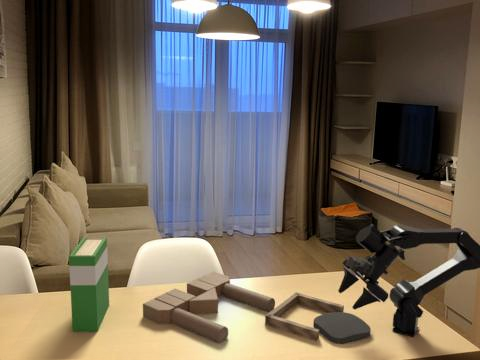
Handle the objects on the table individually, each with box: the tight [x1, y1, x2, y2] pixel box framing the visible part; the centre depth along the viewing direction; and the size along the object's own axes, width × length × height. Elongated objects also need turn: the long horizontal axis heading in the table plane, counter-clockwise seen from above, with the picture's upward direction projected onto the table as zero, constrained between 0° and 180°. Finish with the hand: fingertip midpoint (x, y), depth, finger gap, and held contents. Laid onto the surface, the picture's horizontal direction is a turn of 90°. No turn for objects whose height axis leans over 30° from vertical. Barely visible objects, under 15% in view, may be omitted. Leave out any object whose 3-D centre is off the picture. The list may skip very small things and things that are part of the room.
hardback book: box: [68, 236, 110, 333], centre depth 157 cm, size 18×7×24 cm, turn 3°
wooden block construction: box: [142, 271, 276, 344], centre depth 165 cm, size 35×6×29 cm
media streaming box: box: [312, 311, 372, 345], centre depth 154 cm, size 15×15×3 cm
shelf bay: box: [264, 292, 345, 342], centre depth 161 cm, size 18×21×3 cm
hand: (346, 300), depth 150 cm, fingers open, 9 cm apart
